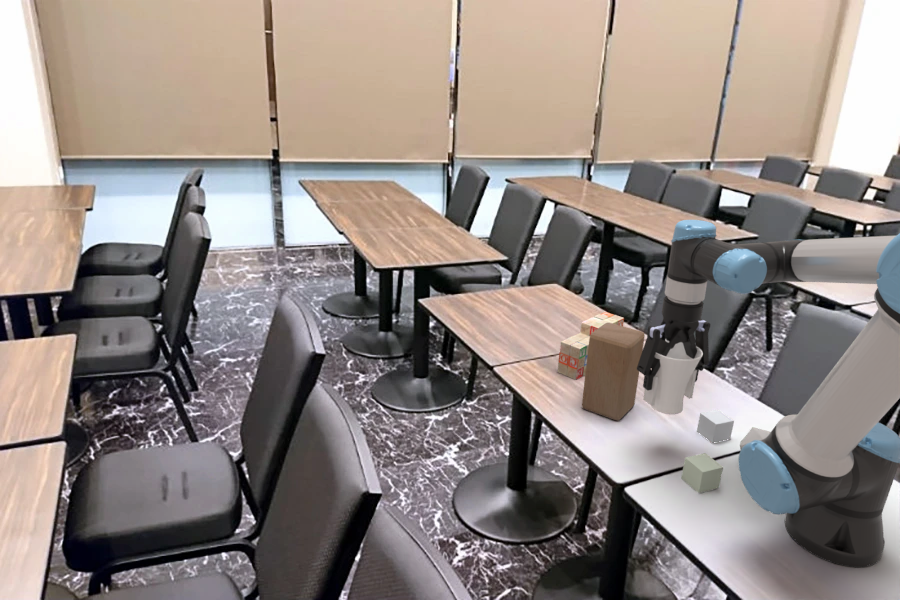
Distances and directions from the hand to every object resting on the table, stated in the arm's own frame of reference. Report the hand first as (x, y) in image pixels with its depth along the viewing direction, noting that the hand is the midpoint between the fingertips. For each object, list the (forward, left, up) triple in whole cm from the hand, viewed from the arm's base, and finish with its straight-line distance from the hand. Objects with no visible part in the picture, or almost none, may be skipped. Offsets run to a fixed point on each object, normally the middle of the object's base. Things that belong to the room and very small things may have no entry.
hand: (667, 398), depth 133 cm
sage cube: (-13, 0, -12) cm, 18 cm away
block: (+18, +1, -12) cm, 22 cm away
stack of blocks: (+40, -7, -13) cm, 43 cm away
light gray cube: (0, -15, -12) cm, 19 cm away
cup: (0, 0, -2) cm, 2 cm away
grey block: (-12, -16, -12) cm, 23 cm away
